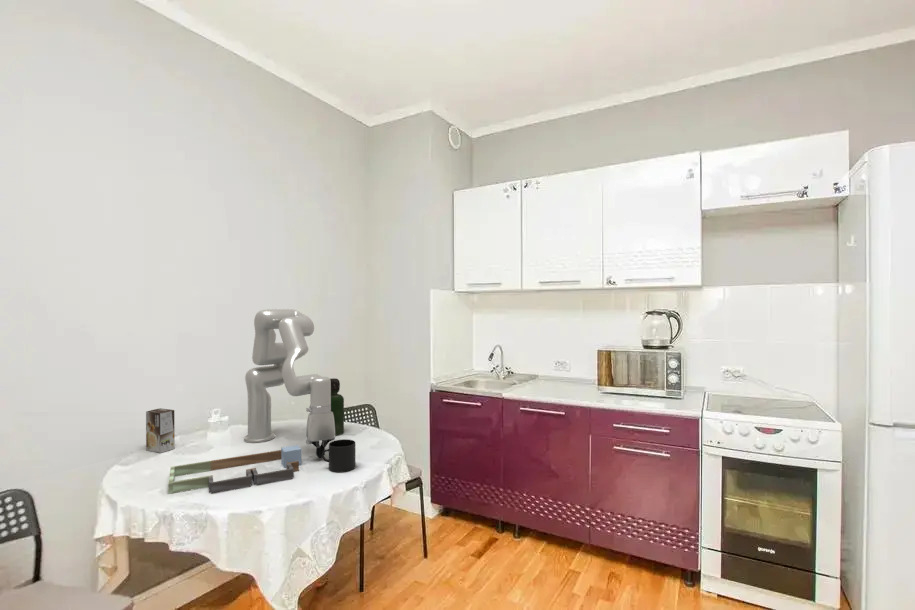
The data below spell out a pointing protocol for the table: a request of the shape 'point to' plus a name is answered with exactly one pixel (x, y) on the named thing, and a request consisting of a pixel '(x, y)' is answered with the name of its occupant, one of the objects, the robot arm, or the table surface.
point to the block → (290, 454)
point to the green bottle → (337, 406)
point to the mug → (341, 455)
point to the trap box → (230, 483)
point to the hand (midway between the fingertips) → (320, 457)
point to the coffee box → (160, 430)
